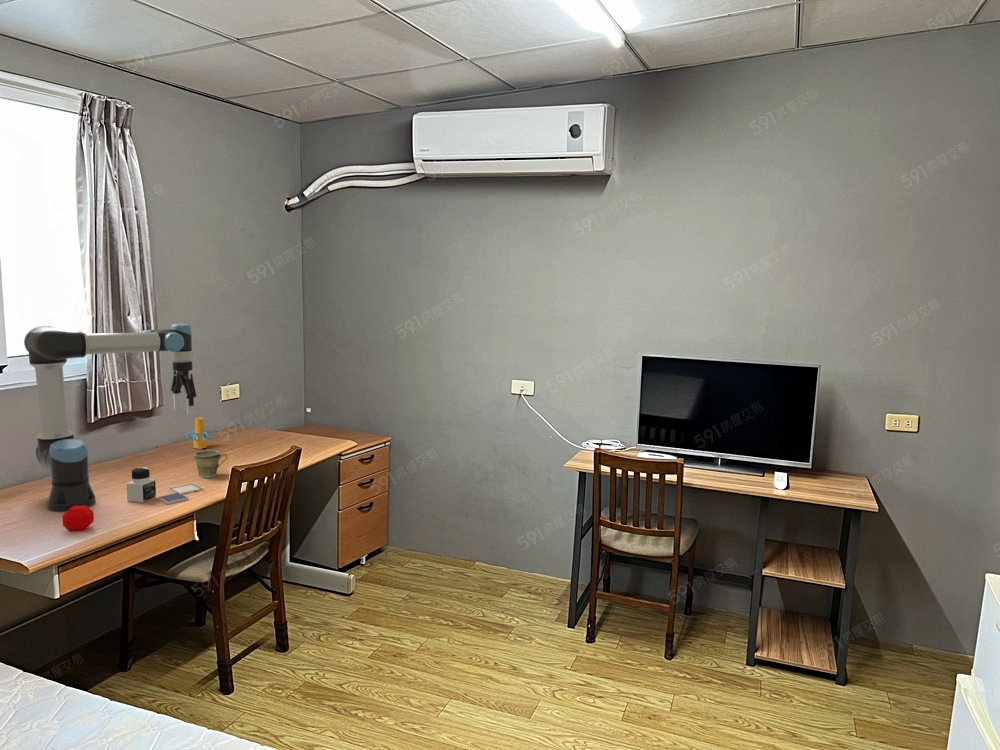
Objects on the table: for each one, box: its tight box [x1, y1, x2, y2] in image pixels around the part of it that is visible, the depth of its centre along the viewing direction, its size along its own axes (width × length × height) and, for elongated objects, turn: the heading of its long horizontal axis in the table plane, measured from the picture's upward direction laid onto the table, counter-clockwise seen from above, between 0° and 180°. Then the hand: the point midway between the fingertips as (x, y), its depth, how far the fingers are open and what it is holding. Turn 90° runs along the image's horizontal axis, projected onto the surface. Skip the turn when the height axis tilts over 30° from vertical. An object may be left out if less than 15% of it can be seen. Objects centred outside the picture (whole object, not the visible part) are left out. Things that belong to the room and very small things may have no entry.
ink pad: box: [157, 493, 189, 505], centre depth 270 cm, size 8×8×1 cm
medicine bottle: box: [126, 467, 157, 504], centre depth 268 cm, size 7×7×12 cm
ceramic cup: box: [193, 449, 228, 479], centre depth 302 cm, size 13×10×10 cm
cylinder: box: [186, 417, 214, 449], centre depth 348 cm, size 12×10×15 cm
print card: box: [167, 483, 204, 495], centre depth 282 cm, size 10×10×1 cm
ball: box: [62, 505, 95, 533], centre depth 236 cm, size 8×8×8 cm
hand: (184, 411), depth 301 cm, fingers open, 13 cm apart
